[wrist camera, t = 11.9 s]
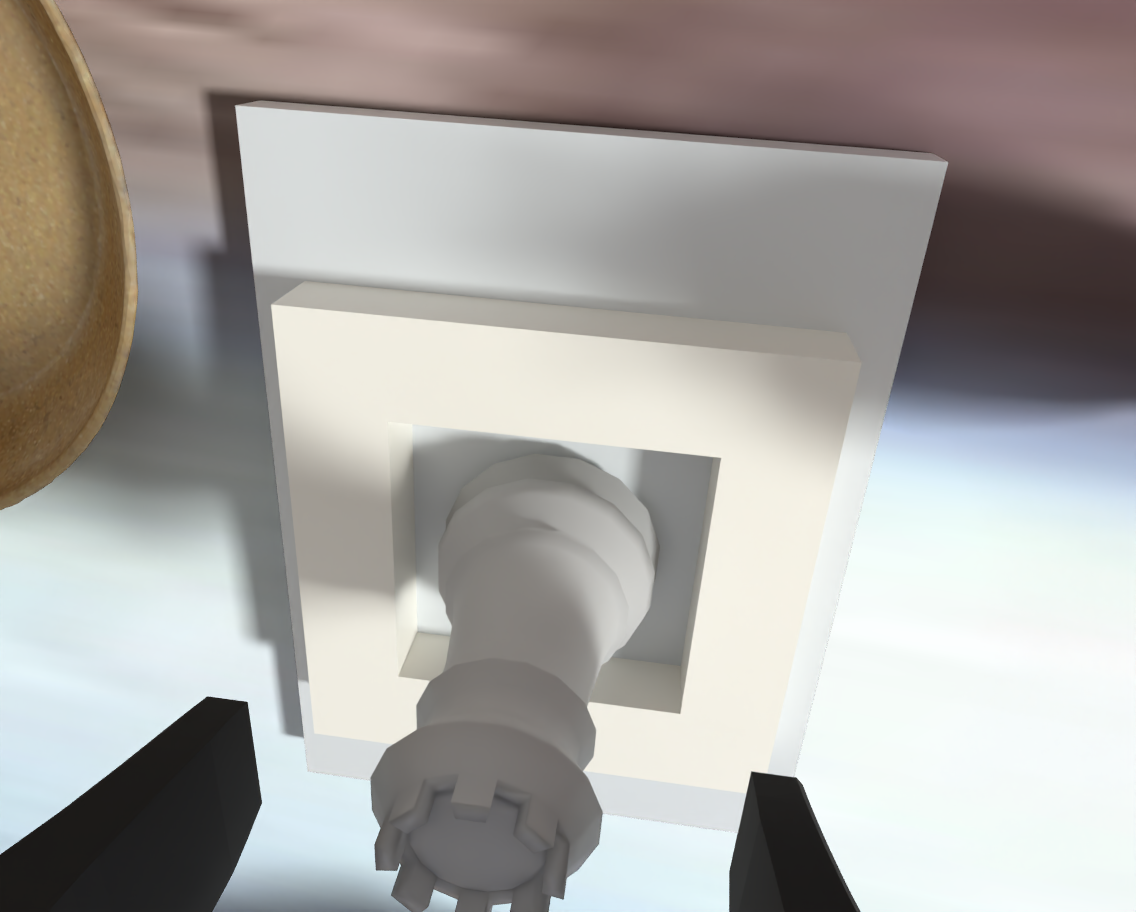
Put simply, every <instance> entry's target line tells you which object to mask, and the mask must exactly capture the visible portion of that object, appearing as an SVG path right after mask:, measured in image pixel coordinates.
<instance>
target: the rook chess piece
mask: <svg viewBox="0 0 1136 912" xmlns="http://www.w3.org/2000/svg"><path fill="white" fill-rule="evenodd" d="M659 550H660V545H659V542H658V539H657V536H656V533H655V530H654V527H653V524H652V521H651V518H650V515H649V512H648V510H647V509H646V507H645V506H644V505H643V504H642V503H641V502H640V501H639V500H638V499H637V498H636V496H635V495H634V494H633V493H632V492H631V491H630V490H629V489H628V488H627V487H626V485H625V484H624V483H623V482H622V481H621V480H620V479H619V478H617V477H615V476H613V475H611V474H609V473H607V472H605V471H603V470H601V469H599V468H597V467H595V466H593V465H591V464H589V463H587V462H585V461H583V460H581V459H576V458H567V457H559V456H550V455H542V454H532V455H528V456H524V457H520V458H516V459H512V460H508V461H504V462H500V463H496V464H493V465H492V466H490V467H489V468H488V469H486V470H485V471H484V472H482V473H481V474H480V475H478V476H477V477H476V478H474V479H473V480H472V481H471V482H469V483H468V484H467V485H465V486H464V487H463V488H462V489H461V491H460V493H459V495H458V497H457V499H456V501H455V503H454V505H453V507H452V509H451V511H450V513H449V515H448V517H447V519H446V530H445V532H444V534H443V536H442V538H441V540H440V542H439V544H438V584H439V593H440V595H441V597H442V599H443V601H444V603H445V606H446V615H447V617H448V619H449V621H450V623H451V625H452V629H451V635H450V641H449V647H448V653H447V659H446V665H445V668H444V670H443V673H442V674H440V675H439V676H437V677H436V678H434V679H433V680H431V681H430V682H429V683H428V685H427V687H426V689H425V690H424V692H423V694H422V696H421V698H420V699H419V701H418V703H417V705H416V717H417V730H415V731H414V732H412V733H411V734H409V735H407V736H406V737H404V738H403V739H401V740H399V741H398V742H396V743H395V744H393V745H391V746H390V747H388V748H387V749H386V750H385V752H384V754H383V756H382V757H381V759H380V761H379V763H378V765H377V766H376V768H375V770H374V772H373V774H372V775H371V777H370V779H371V798H372V811H373V813H374V815H375V817H376V819H377V821H378V823H379V826H380V828H381V829H380V831H379V834H378V837H377V839H376V842H375V863H376V870H384V871H397V869H398V866H399V863H400V865H401V867H400V870H399V873H398V876H397V879H396V882H395V885H394V888H393V891H392V894H391V896H392V897H394V898H395V899H396V900H397V901H399V902H400V903H401V904H402V905H404V906H405V907H406V908H407V909H409V910H410V911H411V912H422V911H424V910H425V909H426V908H427V907H428V906H429V903H430V899H431V896H432V892H433V889H434V890H437V891H439V892H441V893H444V894H446V895H448V896H451V897H453V898H455V899H457V900H458V901H457V905H456V909H455V912H491V910H492V906H493V905H499V904H507V903H512V904H511V909H510V912H548V911H549V905H550V898H551V896H553V897H556V898H560V899H563V900H564V893H565V886H566V879H567V877H569V876H570V875H572V874H573V873H574V872H576V871H577V870H578V869H579V868H580V867H581V866H582V864H583V863H584V862H585V861H586V859H587V858H588V857H589V856H590V854H591V853H592V852H593V851H594V849H595V848H596V847H597V846H598V844H599V838H600V830H601V822H602V814H603V811H602V809H601V806H600V804H599V802H598V799H597V797H596V795H595V793H594V790H593V788H592V786H591V783H590V781H589V779H588V777H587V776H586V775H585V773H584V772H583V771H584V769H585V768H586V766H587V765H588V764H589V762H590V761H591V760H592V758H593V757H594V748H595V739H596V728H595V726H594V723H593V721H592V718H591V716H590V714H589V711H588V709H587V706H588V703H589V700H590V697H591V694H592V691H593V689H594V686H595V683H596V680H597V677H598V674H599V671H600V668H601V665H603V664H604V663H606V662H608V661H609V660H610V658H611V657H612V655H613V654H614V652H615V651H616V650H618V649H620V648H621V647H623V646H625V644H626V643H627V641H628V640H629V639H630V637H631V636H632V634H633V633H634V631H635V630H636V628H637V627H638V626H639V624H640V623H641V621H642V620H643V618H644V617H645V615H646V613H647V612H648V610H649V608H650V605H651V598H652V590H653V584H654V583H655V579H656V572H657V565H658V558H659Z"/></svg>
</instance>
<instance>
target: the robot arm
mask: <svg viewBox="0 0 1136 912" xmlns="http://www.w3.org/2000/svg"><path fill="white" fill-rule="evenodd" d="M261 804H262V800H261V793H260V786H259V779H258V772H257V765H256V758H255V751H254V744H253V737H252V730H251V723H250V716H249V709H248V702H244V701H236V700H229V699H222V698H215V697H206V698H205V699H203V700H202V701H201V702H200V703H198V704H197V705H196V706H194V707H193V708H192V709H190V710H189V711H188V712H187V713H185V714H184V715H183V716H181V717H180V718H179V719H178V720H176V721H175V722H174V723H173V724H171V725H170V726H169V727H168V728H166V729H165V730H164V731H163V732H161V733H160V734H159V735H158V736H156V737H155V738H154V739H153V740H151V741H150V742H149V743H148V744H147V745H145V746H144V747H143V748H141V749H140V750H139V751H138V752H136V753H135V754H134V755H133V756H131V757H130V758H129V759H128V760H126V761H125V762H124V763H123V764H121V765H120V766H119V767H118V768H116V769H115V770H114V771H112V772H111V773H110V774H109V775H107V776H106V777H105V778H103V779H102V780H101V781H99V782H98V783H97V784H96V785H94V786H93V787H92V788H90V789H89V790H88V791H86V792H85V793H84V794H83V795H81V796H80V797H79V798H77V799H76V800H75V801H74V802H72V803H71V804H70V805H68V806H67V807H66V808H64V809H63V810H62V811H60V812H59V813H58V814H56V815H55V816H54V817H52V818H51V819H49V820H48V821H47V822H45V823H44V824H42V825H41V826H40V827H38V828H37V829H35V830H34V831H33V832H31V833H30V834H28V835H27V836H26V837H24V838H23V839H21V840H20V841H19V842H17V843H16V844H14V845H13V846H12V847H10V848H9V849H7V850H6V851H5V852H3V853H2V854H0V912H212V911H213V909H214V907H215V905H216V904H217V902H218V900H219V898H220V896H221V895H222V893H223V891H224V889H225V887H226V885H227V883H228V882H229V880H230V878H231V876H232V874H233V872H234V870H235V867H236V865H237V863H238V860H239V858H240V856H241V853H242V851H243V849H244V846H245V844H246V842H247V839H248V837H249V834H250V831H251V829H252V826H253V824H254V821H255V819H256V816H257V814H258V811H259V809H260V806H261ZM729 912H860V910H859V908H858V906H857V904H856V902H855V900H854V898H853V897H852V895H851V893H850V891H849V889H848V887H847V885H846V883H845V881H844V879H843V876H842V874H841V872H840V870H839V868H838V866H837V864H836V862H835V860H834V857H833V855H832V853H831V851H830V849H829V847H828V845H827V842H826V840H825V838H824V836H823V833H822V831H821V829H820V827H819V824H818V822H817V820H816V817H815V815H814V812H813V810H812V808H811V805H810V803H809V800H808V798H807V795H806V792H805V790H804V787H803V785H802V784H801V782H800V781H799V780H798V779H797V778H796V777H789V776H781V775H774V774H767V773H760V772H752V771H751V775H750V779H749V784H748V789H747V793H746V798H745V802H744V807H743V812H742V816H741V821H740V825H739V830H738V835H737V839H736V844H735V848H734V853H733V858H732V862H731V867H730V871H729Z"/></svg>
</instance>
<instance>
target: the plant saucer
mask: <svg viewBox="0 0 1136 912" xmlns="http://www.w3.org/2000/svg"><path fill="white" fill-rule="evenodd" d="M137 297H138V282H137V261H136V245H135V234H134V225H133V218H132V212H131V206H130V200H129V195H128V190H127V185H126V180H125V176H124V171H123V167H122V163H121V158H120V154H119V151H118V148H117V145H116V142H115V138H114V135H113V132H112V129H111V126H110V122H109V119H108V117H107V114H106V111H105V108H104V106H103V103H102V100H101V97H100V95H99V92H98V90H97V87H96V85H95V82H94V80H93V78H92V75H91V73H90V71H89V68H88V66H87V64H86V61H85V59H84V56H83V54H82V52H81V50H80V48H79V46H78V44H77V42H76V40H75V38H74V36H73V34H72V32H71V30H70V28H69V26H68V24H67V22H66V21H65V19H64V17H63V15H62V13H61V11H60V10H59V8H58V6H57V4H56V2H55V1H54V0H0V510H2V509H4V508H6V507H10V506H13V505H15V504H17V503H19V502H21V501H22V500H23V499H25V498H27V497H29V496H31V495H32V494H34V493H36V492H38V491H39V490H41V489H42V488H44V487H45V486H47V485H48V484H50V483H51V482H52V481H53V480H54V479H55V478H56V477H57V476H59V475H60V474H61V473H63V472H64V471H65V470H66V469H67V468H68V467H69V466H70V465H71V464H72V463H73V462H74V461H75V460H76V459H77V458H78V457H79V456H80V455H81V453H82V452H84V451H85V450H86V448H87V447H88V445H89V444H90V443H91V441H92V440H93V438H94V437H95V435H96V434H97V433H98V431H99V430H100V428H101V426H102V425H103V423H104V421H105V420H106V418H107V416H108V413H109V411H110V409H111V407H112V405H113V403H114V401H115V398H116V396H117V393H118V391H119V388H120V385H121V382H122V379H123V375H124V372H125V369H126V365H127V362H128V358H129V354H130V349H131V344H132V340H133V334H134V325H135V317H136V309H137Z"/></svg>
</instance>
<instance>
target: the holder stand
mask: <svg viewBox="0 0 1136 912" xmlns="http://www.w3.org/2000/svg"><path fill="white" fill-rule="evenodd" d="M235 108H236V117H237V127H238V136H239V145H240V154H241V163H242V173H243V182H244V191H245V200H246V209H247V219H248V228H249V237H250V246H251V255H252V265H253V274H254V283H255V292H256V301H257V311H258V320H259V329H260V338H261V347H262V357H263V366H264V375H265V384H266V393H267V403H268V412H269V421H270V430H271V439H272V449H273V458H274V467H275V476H276V485H277V495H278V504H279V513H280V522H281V531H282V541H283V550H284V559H285V568H286V577H287V587H288V596H289V605H290V614H291V623H292V633H293V642H294V651H295V660H296V669H297V679H298V688H299V697H300V706H301V715H302V725H303V734H304V743H305V752H306V761H307V771H308V772H314V773H321V774H328V775H335V776H342V777H349V778H356V779H363V780H370V781H371V779H370V777H371V775H372V774H373V772H374V770H375V768H376V766H377V765H378V763H379V761H380V759H381V757H382V756H383V754H384V752H385V750H386V749H387V748H388V747H390V746H391V745H393V744H395V743H396V742H398V741H399V740H401V739H403V738H404V737H406V736H407V735H409V734H411V733H412V732H414V731H415V730H417V717H416V705H417V703H418V701H419V699H420V698H421V696H422V694H423V692H424V690H425V689H426V687H427V685H428V683H429V682H430V681H431V680H433V679H434V678H436V677H437V676H439V675H440V674H442V673H443V670H444V668H445V665H446V659H447V653H448V647H449V641H450V635H451V629H452V625H451V623H450V621H449V619H448V617H447V615H446V606H445V603H444V601H443V599H442V597H441V595H440V593H439V584H438V544H439V542H440V540H441V538H442V536H443V534H444V532H445V530H446V519H447V517H448V515H449V513H450V511H451V509H452V507H453V505H454V503H455V501H456V499H457V497H458V495H459V493H460V491H461V489H462V488H463V487H464V486H465V485H467V484H468V483H469V482H471V481H472V480H473V479H474V478H476V477H477V476H478V475H480V474H481V473H482V472H484V471H485V470H486V469H488V468H489V467H490V466H492V465H493V464H496V463H500V462H504V461H508V460H512V459H516V458H520V457H524V456H528V455H532V454H542V455H550V456H559V457H567V458H576V459H581V460H583V461H585V462H587V463H589V464H591V465H593V466H595V467H597V468H599V469H601V470H603V471H605V472H607V473H609V474H611V475H613V476H615V477H617V478H619V479H620V480H621V481H622V482H623V483H624V484H625V485H626V487H627V488H628V489H629V490H630V491H631V492H632V493H633V494H634V495H635V496H636V498H637V499H638V500H639V501H640V502H641V503H642V504H643V505H644V506H645V507H646V509H647V510H648V512H649V515H650V518H651V521H652V524H653V527H654V530H655V533H656V536H657V539H658V542H659V545H660V550H659V558H658V565H657V572H656V579H655V583H654V584H653V590H652V598H651V605H650V608H649V610H648V612H647V613H646V615H645V617H644V618H643V620H642V621H641V623H640V624H639V626H638V627H637V628H636V630H635V631H634V633H633V634H632V636H631V637H630V639H629V640H628V641H627V643H626V644H625V646H623V647H621V648H620V649H618V650H616V651H615V652H614V654H613V655H612V657H611V658H610V660H609V661H608V662H606V663H604V664H603V665H601V668H600V671H599V674H598V677H597V680H596V683H595V686H594V689H593V691H592V694H591V697H590V700H589V703H588V706H587V709H588V711H589V714H590V716H591V718H592V721H593V723H594V726H595V728H596V739H595V748H594V757H593V758H592V760H591V761H590V762H589V764H588V765H587V766H586V768H585V769H584V771H583V772H584V773H585V775H586V776H587V777H588V779H589V781H590V783H591V786H592V788H593V790H594V793H595V795H596V797H597V799H598V802H599V804H600V806H601V809H602V811H603V814H608V815H615V816H622V817H629V818H636V819H643V820H650V821H657V822H664V823H671V824H678V825H685V826H692V827H699V828H706V829H713V830H720V831H727V832H734V833H738V830H739V825H740V821H741V816H742V812H743V807H744V802H745V798H746V793H747V789H748V784H749V779H750V775H751V771H752V772H760V773H767V774H774V775H781V776H789V777H794V775H795V771H796V767H797V763H798V759H799V755H800V751H801V747H802V743H803V739H804V735H805V731H806V727H807V723H808V719H809V715H810V711H811V707H812V704H813V700H814V696H815V692H816V688H817V684H818V680H819V676H820V672H821V668H822V664H823V660H824V656H825V652H826V648H827V644H828V640H829V636H830V632H831V628H832V624H833V620H834V616H835V612H836V608H837V604H838V600H839V596H840V592H841V588H842V584H843V580H844V576H845V572H846V568H847V564H848V560H849V556H850V552H851V548H852V544H853V540H854V536H855V532H856V528H857V524H858V520H859V516H860V512H861V508H862V504H863V500H864V496H865V492H866V488H867V484H868V480H869V476H870V472H871V468H872V464H873V460H874V456H875V452H876V448H877V444H878V440H879V436H880V432H881V428H882V424H883V420H884V416H885V412H886V408H887V404H888V401H889V397H890V393H891V389H892V385H893V381H894V377H895V373H896V369H897V365H898V361H899V357H900V353H901V349H902V345H903V341H904V337H905V333H906V329H907V325H908V321H909V317H910V313H911V309H912V305H913V301H914V297H915V293H916V289H917V285H918V281H919V277H920V273H921V269H922V265H923V261H924V257H925V253H926V249H927V245H928V241H929V237H930V233H931V229H932V225H933V221H934V217H935V213H936V209H937V205H938V201H939V197H940V193H941V189H942V185H943V181H944V177H945V173H946V169H947V165H948V162H947V161H946V160H944V159H942V158H940V157H939V156H937V155H935V154H933V153H923V152H910V151H898V150H885V149H872V148H860V147H847V146H834V145H821V144H809V143H796V142H783V141H771V140H758V139H745V138H732V137H720V136H707V135H694V134H682V133H669V132H656V131H643V130H631V129H618V128H605V127H593V126H580V125H567V124H554V123H542V122H529V121H516V120H504V119H491V118H478V117H465V116H453V115H440V114H427V113H415V112H402V111H389V110H376V109H364V108H351V107H338V106H326V105H313V104H300V103H288V102H275V101H262V100H260V101H255V102H250V103H245V104H240V105H235Z"/></svg>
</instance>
